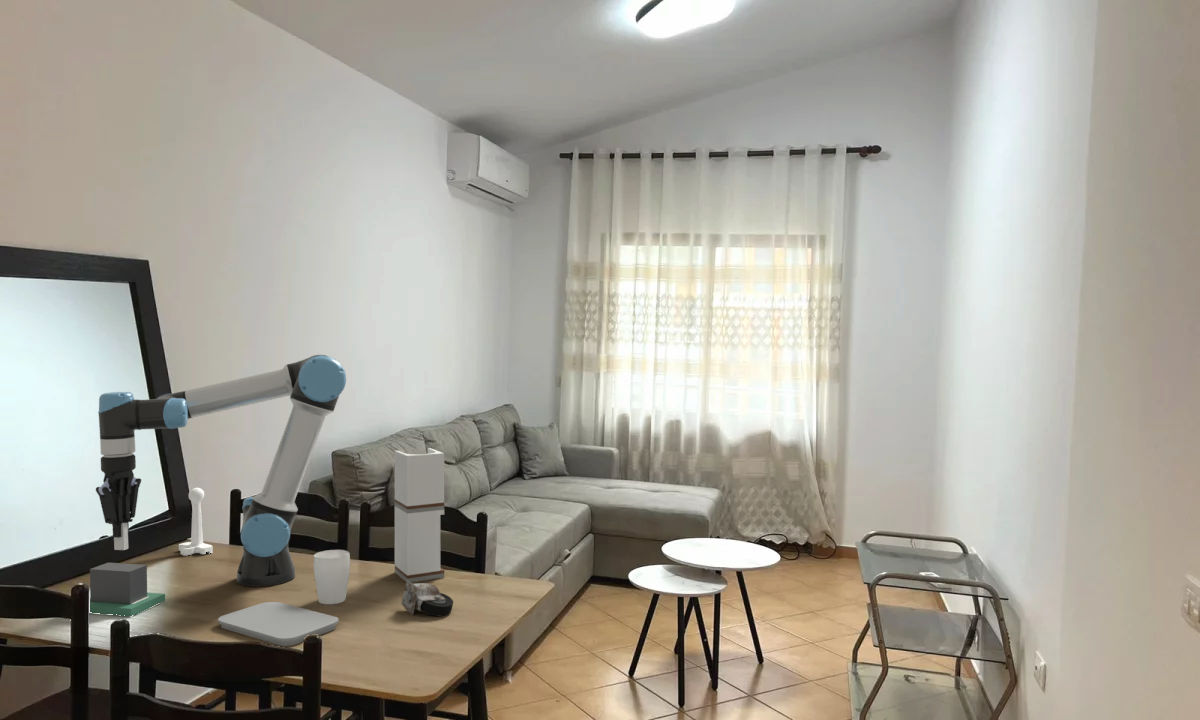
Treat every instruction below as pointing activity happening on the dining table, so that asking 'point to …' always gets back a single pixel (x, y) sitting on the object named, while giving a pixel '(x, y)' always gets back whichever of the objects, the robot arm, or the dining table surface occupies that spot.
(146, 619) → the dining table surface
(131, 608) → the board
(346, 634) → the dining table surface
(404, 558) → the white striped vase
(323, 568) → the cup
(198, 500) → the joystick
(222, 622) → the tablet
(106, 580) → the block
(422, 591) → the caster wheel
